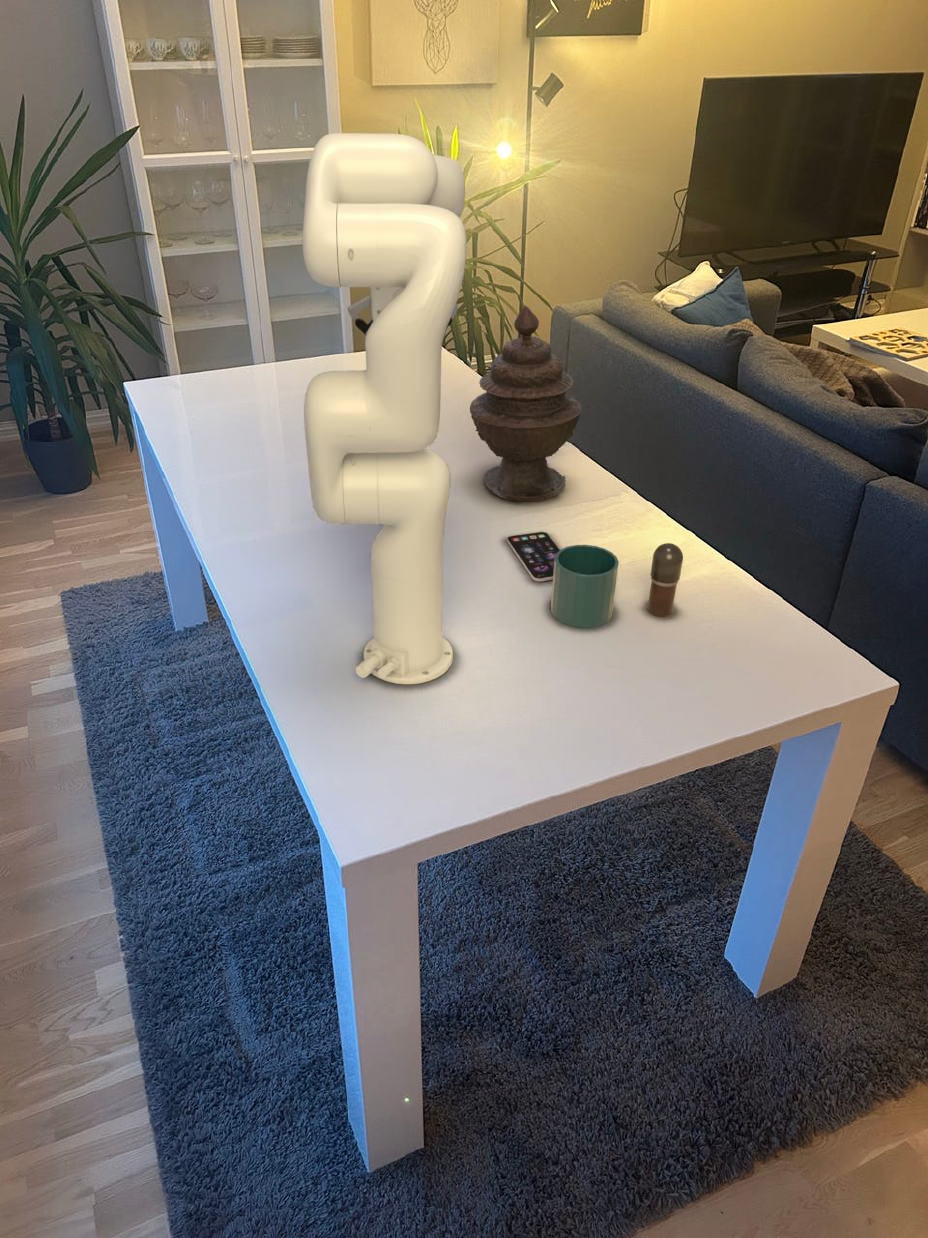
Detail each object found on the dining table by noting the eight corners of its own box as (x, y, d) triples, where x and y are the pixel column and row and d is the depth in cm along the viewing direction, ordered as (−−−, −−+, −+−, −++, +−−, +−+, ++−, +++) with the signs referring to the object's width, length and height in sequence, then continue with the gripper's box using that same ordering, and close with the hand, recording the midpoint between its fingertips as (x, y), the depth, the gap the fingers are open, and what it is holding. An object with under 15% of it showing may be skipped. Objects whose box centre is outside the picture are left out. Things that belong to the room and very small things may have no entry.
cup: (596, 634, 141) (602, 582, 136) (540, 615, 145) (543, 564, 140) (622, 606, 148) (628, 555, 143) (567, 588, 152) (572, 538, 147)
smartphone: (545, 530, 166) (578, 573, 154) (545, 533, 167) (578, 576, 155) (504, 536, 164) (534, 579, 152) (504, 539, 165) (534, 582, 153)
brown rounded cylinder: (667, 620, 144) (678, 555, 138) (640, 611, 146) (650, 547, 140) (678, 607, 148) (689, 543, 141) (651, 599, 149) (661, 535, 143)
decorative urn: (598, 477, 185) (602, 294, 165) (547, 523, 171) (544, 331, 151) (509, 456, 195) (502, 282, 174) (453, 499, 181) (439, 315, 161)
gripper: (346, 254, 140) (352, 368, 149) (462, 251, 142) (460, 364, 152) (343, 243, 146) (348, 353, 155) (454, 241, 149) (453, 349, 158)
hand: (404, 358), depth 153 cm, fingers open, 9 cm apart
